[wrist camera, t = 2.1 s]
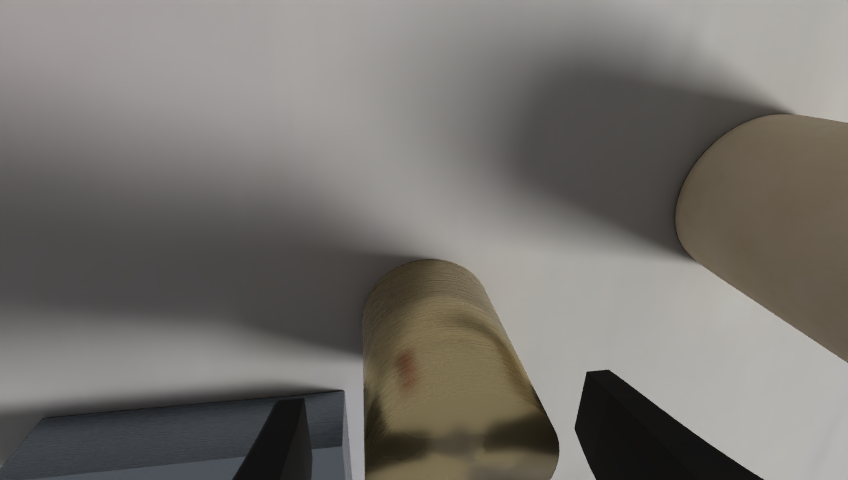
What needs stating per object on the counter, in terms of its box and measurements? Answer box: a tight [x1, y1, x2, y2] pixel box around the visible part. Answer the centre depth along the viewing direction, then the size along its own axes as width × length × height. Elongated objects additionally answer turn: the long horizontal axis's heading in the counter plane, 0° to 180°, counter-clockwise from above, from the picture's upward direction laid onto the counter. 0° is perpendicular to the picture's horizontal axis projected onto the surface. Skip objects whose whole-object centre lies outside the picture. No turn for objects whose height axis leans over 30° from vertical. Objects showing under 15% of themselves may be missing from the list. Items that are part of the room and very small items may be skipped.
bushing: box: [363, 260, 559, 480], centre depth 12 cm, size 4×4×6 cm
